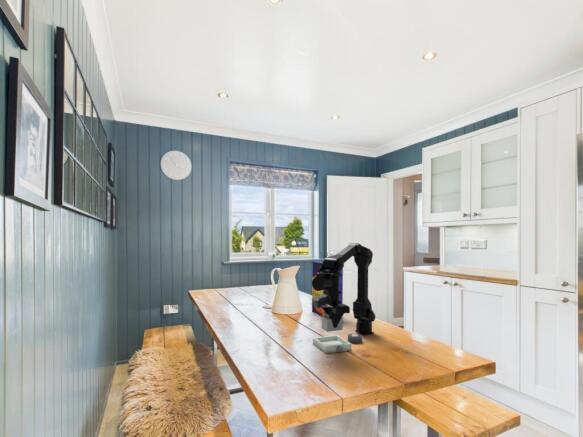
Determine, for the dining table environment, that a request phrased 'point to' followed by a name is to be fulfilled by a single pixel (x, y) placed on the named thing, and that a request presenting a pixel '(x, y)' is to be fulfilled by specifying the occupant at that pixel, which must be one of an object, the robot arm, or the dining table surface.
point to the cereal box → (315, 293)
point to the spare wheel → (355, 338)
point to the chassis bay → (331, 344)
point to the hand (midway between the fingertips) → (332, 326)
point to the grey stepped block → (330, 323)
